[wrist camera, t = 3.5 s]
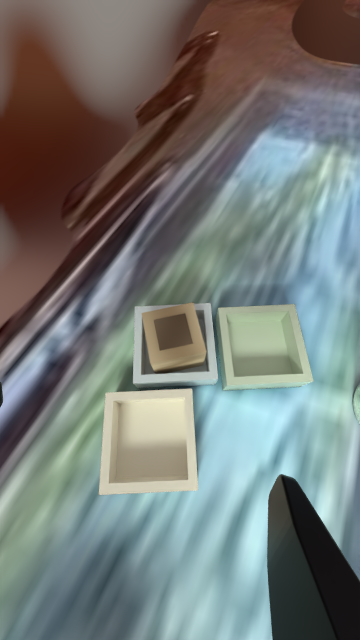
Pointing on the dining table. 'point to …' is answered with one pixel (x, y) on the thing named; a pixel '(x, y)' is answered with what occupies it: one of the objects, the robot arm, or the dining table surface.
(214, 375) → the pale blue dish
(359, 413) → the beer glass
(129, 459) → the cream dish
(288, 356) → the sage dish
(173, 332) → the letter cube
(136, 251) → the dining table surface
